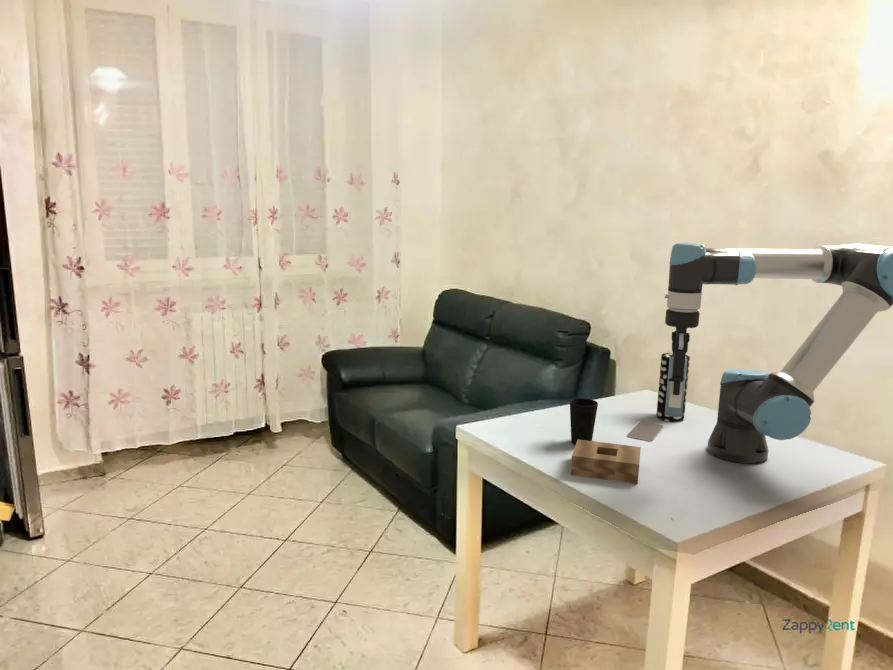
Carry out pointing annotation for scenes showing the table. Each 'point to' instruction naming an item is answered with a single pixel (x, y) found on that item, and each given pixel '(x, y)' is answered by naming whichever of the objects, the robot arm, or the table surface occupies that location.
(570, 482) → the table surface
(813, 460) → the table surface
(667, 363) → the white-spotted black cylinder
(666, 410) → the pin
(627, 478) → the bore block
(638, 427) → the smartphone
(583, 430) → the cup
